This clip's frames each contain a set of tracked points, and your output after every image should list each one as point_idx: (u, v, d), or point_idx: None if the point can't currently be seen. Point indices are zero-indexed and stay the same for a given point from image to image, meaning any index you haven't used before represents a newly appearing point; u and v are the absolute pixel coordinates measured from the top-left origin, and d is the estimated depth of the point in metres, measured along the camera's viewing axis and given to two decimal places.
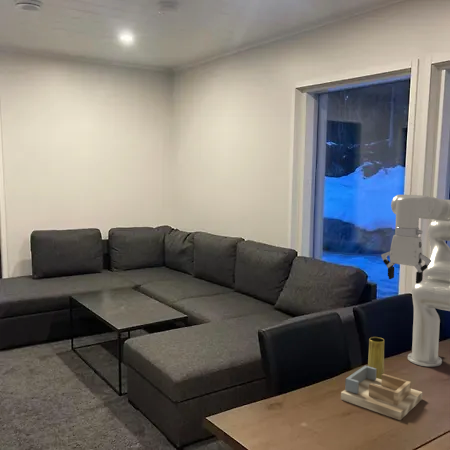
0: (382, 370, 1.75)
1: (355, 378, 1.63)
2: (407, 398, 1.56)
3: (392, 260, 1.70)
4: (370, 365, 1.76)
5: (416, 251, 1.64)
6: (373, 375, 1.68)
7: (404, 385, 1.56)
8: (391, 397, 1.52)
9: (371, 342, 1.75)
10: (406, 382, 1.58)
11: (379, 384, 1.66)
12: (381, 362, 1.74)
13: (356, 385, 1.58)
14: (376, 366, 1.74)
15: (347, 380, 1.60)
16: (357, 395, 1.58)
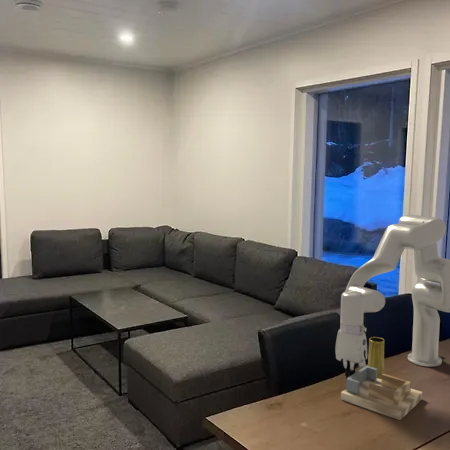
0: (382, 370, 1.75)
1: (356, 378, 1.63)
2: (407, 398, 1.56)
3: (337, 355, 1.68)
4: (370, 365, 1.76)
5: (360, 349, 1.62)
6: (374, 375, 1.68)
7: (404, 385, 1.56)
8: (391, 397, 1.52)
9: (371, 342, 1.75)
10: (406, 382, 1.58)
11: (379, 384, 1.66)
12: (381, 362, 1.74)
13: (357, 385, 1.58)
14: (376, 366, 1.74)
15: (348, 380, 1.60)
16: (357, 395, 1.58)
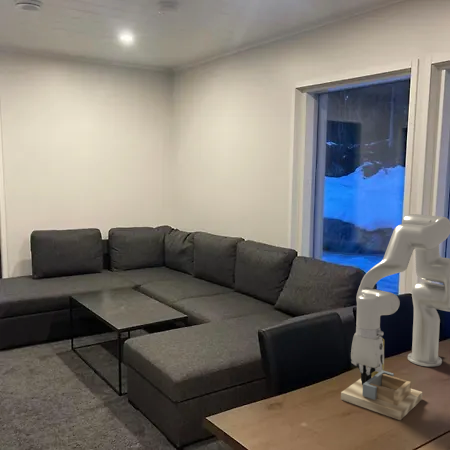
0: None
1: (372, 383, 1.59)
2: (407, 398, 1.56)
3: (353, 359, 1.64)
4: None
5: (376, 353, 1.58)
6: None
7: (404, 385, 1.56)
8: (391, 397, 1.52)
9: None
10: (406, 382, 1.58)
11: None
12: None
13: (374, 391, 1.54)
14: None
15: (364, 386, 1.56)
16: (357, 395, 1.58)
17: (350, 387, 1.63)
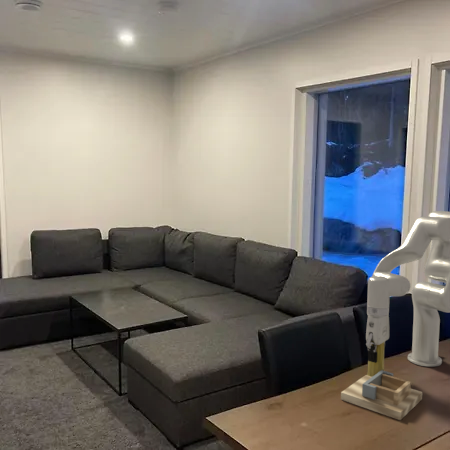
0: None
1: (372, 383, 1.59)
2: (407, 398, 1.56)
3: None
4: (370, 365, 1.76)
5: None
6: None
7: (404, 385, 1.56)
8: (391, 397, 1.52)
9: None
10: (406, 382, 1.58)
11: None
12: (381, 362, 1.74)
13: (373, 391, 1.54)
14: (376, 366, 1.74)
15: (364, 385, 1.56)
16: (357, 395, 1.58)
17: (350, 387, 1.63)
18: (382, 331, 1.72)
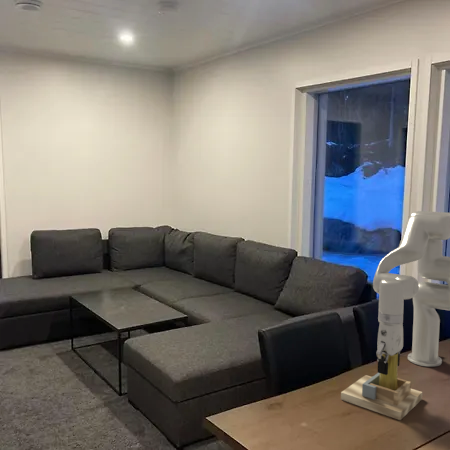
0: (395, 386, 1.56)
1: (372, 383, 1.59)
2: (407, 398, 1.56)
3: None
4: (382, 381, 1.57)
5: (378, 337, 1.54)
6: None
7: (404, 385, 1.56)
8: (391, 397, 1.52)
9: (383, 355, 1.56)
10: (406, 382, 1.58)
11: None
12: (394, 377, 1.56)
13: (373, 391, 1.54)
14: (389, 382, 1.56)
15: (364, 385, 1.56)
16: (357, 395, 1.58)
17: (350, 387, 1.63)
18: (396, 340, 1.53)
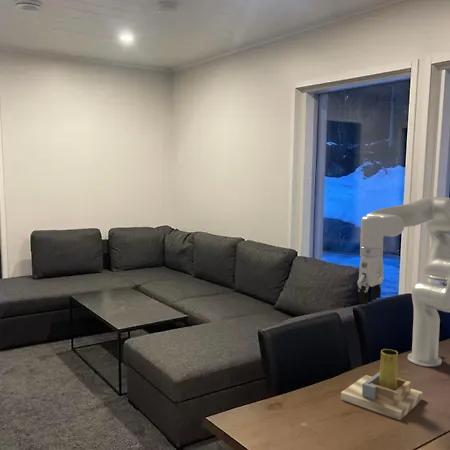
0: (395, 386, 1.56)
1: (372, 383, 1.59)
2: (407, 398, 1.56)
3: None
4: (382, 381, 1.57)
5: None
6: None
7: (404, 385, 1.56)
8: (391, 397, 1.52)
9: (383, 355, 1.56)
10: (406, 382, 1.58)
11: None
12: (394, 377, 1.56)
13: (373, 391, 1.54)
14: (389, 382, 1.56)
15: (364, 385, 1.56)
16: (357, 395, 1.58)
17: (350, 387, 1.63)
18: (376, 272, 1.64)
